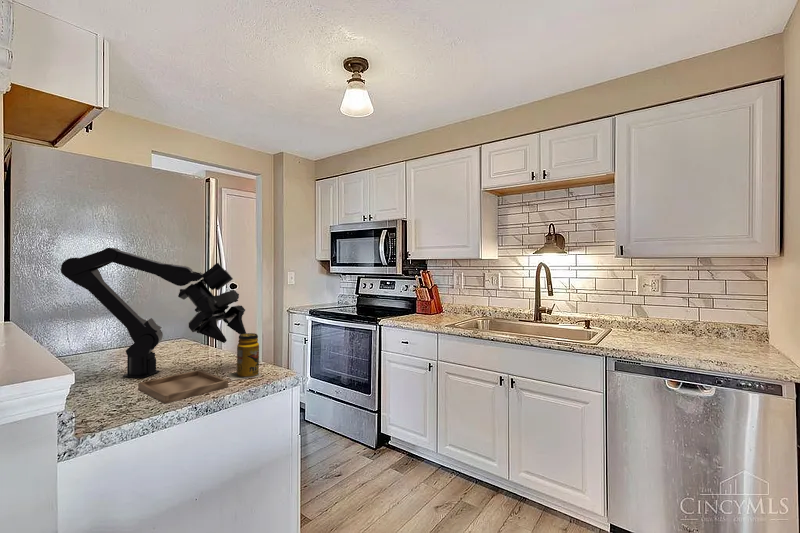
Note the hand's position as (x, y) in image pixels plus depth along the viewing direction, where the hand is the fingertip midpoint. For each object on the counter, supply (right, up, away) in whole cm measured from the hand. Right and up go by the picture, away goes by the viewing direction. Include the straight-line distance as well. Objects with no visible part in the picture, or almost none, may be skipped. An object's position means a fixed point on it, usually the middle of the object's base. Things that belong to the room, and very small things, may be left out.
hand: (235, 338), depth 115 cm
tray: (-8, -11, -13) cm, 19 cm away
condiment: (+3, -11, -1) cm, 11 cm away
